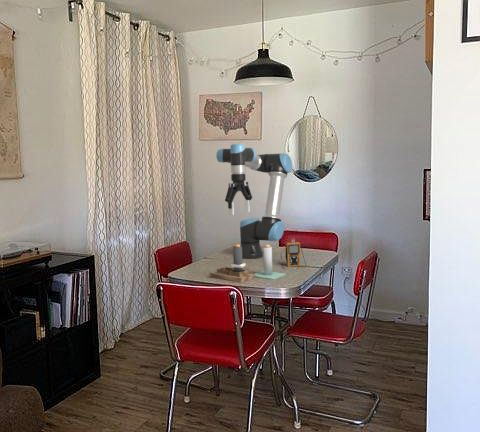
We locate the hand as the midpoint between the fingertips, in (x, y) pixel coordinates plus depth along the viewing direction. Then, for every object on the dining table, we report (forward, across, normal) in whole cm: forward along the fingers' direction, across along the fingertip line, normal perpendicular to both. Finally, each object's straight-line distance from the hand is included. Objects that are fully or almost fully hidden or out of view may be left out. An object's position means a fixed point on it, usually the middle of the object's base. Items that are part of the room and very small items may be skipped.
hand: (239, 213), depth 261 cm
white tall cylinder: (+30, +3, +20) cm, 36 cm away
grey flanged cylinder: (+29, +16, +11) cm, 35 cm away
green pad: (+31, +3, +20) cm, 37 cm away
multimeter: (+31, -20, +22) cm, 43 cm away
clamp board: (+31, +16, +7) cm, 35 cm away
